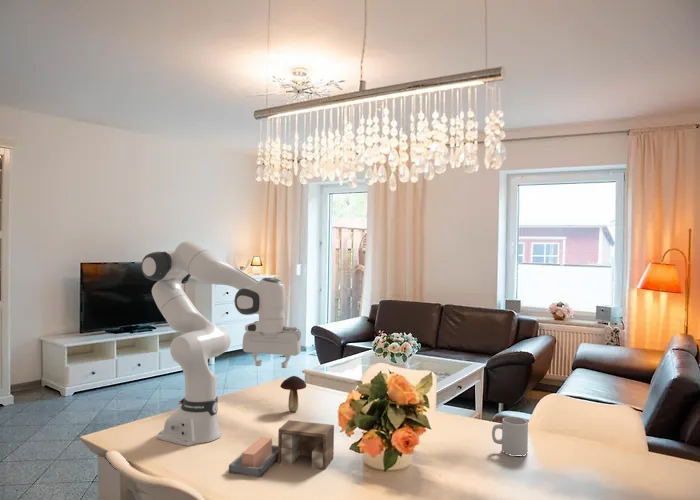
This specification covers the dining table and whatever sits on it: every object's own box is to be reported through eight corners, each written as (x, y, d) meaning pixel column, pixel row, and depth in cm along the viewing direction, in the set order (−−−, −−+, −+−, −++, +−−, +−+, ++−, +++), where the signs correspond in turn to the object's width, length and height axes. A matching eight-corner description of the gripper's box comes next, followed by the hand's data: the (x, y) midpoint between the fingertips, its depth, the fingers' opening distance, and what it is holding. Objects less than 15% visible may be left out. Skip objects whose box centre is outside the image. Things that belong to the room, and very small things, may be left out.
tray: (228, 472, 158) (228, 465, 158) (254, 449, 176) (254, 442, 176) (260, 477, 155) (260, 469, 155) (283, 453, 173) (283, 446, 173)
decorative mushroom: (304, 415, 212) (305, 379, 212) (278, 415, 212) (278, 379, 212) (307, 407, 223) (307, 373, 223) (282, 407, 223) (282, 372, 223)
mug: (524, 448, 181) (524, 417, 181) (530, 457, 173) (530, 425, 173) (489, 446, 183) (490, 415, 182) (493, 455, 174) (494, 423, 174)
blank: (241, 469, 159) (241, 453, 159) (260, 451, 173) (261, 437, 173) (253, 470, 158) (253, 454, 158) (271, 453, 172) (272, 438, 172)
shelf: (278, 463, 165) (278, 429, 165) (288, 452, 174) (288, 420, 174) (325, 469, 161) (325, 434, 161) (333, 458, 170) (333, 425, 170)
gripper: (304, 326, 174) (303, 366, 174) (248, 323, 179) (248, 362, 179) (297, 329, 168) (296, 371, 168) (240, 325, 173) (240, 366, 173)
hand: (271, 366), depth 174 cm, fingers open, 8 cm apart
